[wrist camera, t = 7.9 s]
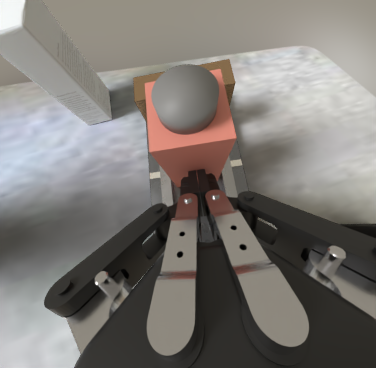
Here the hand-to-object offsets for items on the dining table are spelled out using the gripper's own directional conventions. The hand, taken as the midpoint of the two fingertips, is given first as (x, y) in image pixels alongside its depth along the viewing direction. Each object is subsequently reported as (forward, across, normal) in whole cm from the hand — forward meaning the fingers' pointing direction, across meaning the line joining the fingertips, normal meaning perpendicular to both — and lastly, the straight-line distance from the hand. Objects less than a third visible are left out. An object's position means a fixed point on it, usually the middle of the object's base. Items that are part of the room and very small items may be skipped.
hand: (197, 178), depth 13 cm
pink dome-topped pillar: (+6, 0, -1) cm, 6 cm away
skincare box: (+16, -14, +7) cm, 23 cm away
